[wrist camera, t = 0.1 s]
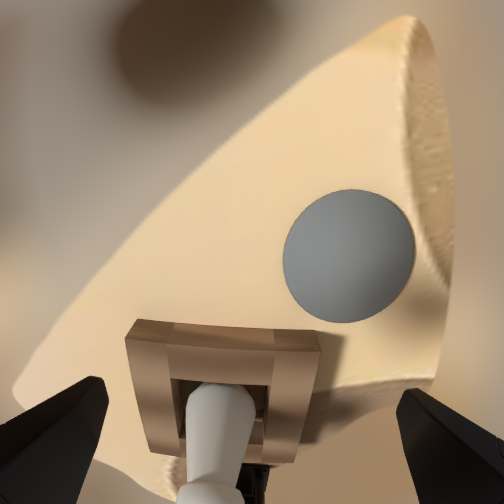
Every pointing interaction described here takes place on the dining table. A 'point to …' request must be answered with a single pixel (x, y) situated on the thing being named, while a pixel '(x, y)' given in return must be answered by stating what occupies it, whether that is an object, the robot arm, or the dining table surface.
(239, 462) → the salt shaker
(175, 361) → the walnut frame
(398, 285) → the slate coaster
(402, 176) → the dining table surface
